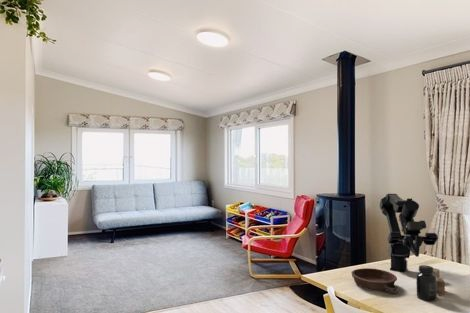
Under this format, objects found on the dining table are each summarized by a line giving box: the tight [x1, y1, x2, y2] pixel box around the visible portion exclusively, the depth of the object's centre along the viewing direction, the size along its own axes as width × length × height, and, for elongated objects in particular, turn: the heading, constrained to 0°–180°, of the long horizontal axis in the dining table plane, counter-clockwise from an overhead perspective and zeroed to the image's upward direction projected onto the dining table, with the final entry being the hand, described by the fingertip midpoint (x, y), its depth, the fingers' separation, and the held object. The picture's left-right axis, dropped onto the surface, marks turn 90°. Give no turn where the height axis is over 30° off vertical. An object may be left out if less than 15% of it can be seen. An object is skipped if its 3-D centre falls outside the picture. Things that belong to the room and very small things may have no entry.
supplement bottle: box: [415, 264, 438, 302], centre depth 133 cm, size 7×7×12 cm
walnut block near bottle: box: [436, 277, 446, 295], centre depth 140 cm, size 5×5×5 cm
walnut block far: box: [433, 267, 440, 278], centre depth 153 cm, size 5×5×5 cm
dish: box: [351, 267, 398, 293], centre depth 147 cm, size 17×22×5 cm
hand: (417, 256), depth 142 cm, fingers closed
